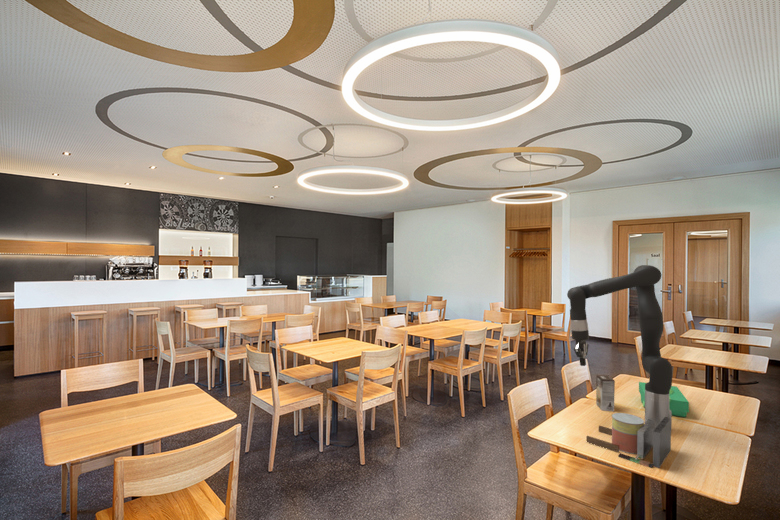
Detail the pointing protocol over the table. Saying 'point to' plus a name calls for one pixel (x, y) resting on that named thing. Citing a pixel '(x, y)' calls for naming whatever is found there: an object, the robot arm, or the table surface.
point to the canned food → (626, 431)
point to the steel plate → (645, 439)
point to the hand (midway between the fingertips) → (583, 365)
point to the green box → (671, 400)
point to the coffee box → (605, 392)
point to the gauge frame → (659, 444)
